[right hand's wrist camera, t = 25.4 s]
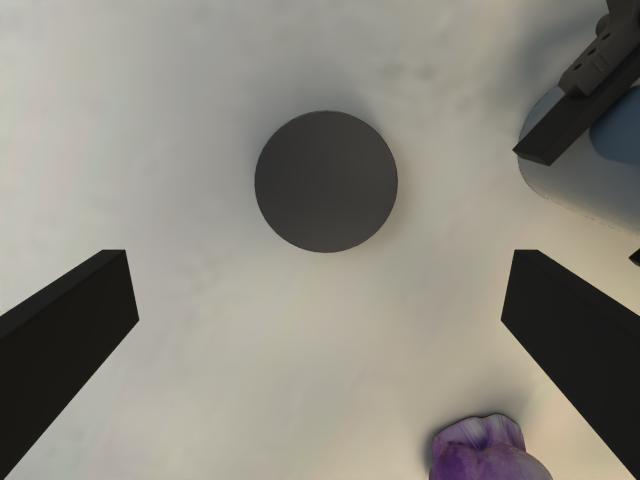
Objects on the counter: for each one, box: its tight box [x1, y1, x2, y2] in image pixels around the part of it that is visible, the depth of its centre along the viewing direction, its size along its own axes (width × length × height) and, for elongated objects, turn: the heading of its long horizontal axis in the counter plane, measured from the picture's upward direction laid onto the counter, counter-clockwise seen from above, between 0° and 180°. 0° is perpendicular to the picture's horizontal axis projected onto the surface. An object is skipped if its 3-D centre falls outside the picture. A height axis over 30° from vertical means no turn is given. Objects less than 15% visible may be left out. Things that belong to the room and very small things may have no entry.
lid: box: [255, 110, 398, 253], centre depth 25 cm, size 9×9×2 cm
